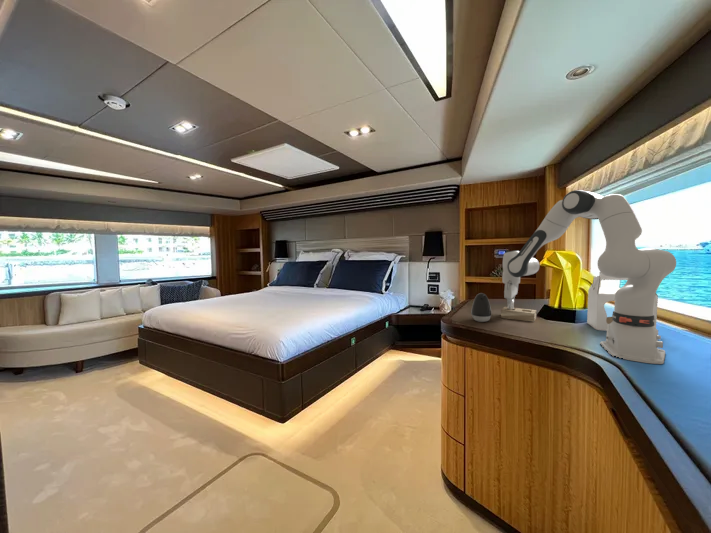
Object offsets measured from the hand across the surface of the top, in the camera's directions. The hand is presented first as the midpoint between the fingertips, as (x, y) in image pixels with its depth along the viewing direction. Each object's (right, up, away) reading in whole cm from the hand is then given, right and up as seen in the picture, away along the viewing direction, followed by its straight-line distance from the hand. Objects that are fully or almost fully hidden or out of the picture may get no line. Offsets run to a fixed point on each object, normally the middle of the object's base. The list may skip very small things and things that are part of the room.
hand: (510, 304), depth 169 cm
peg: (0, -7, +1) cm, 7 cm away
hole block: (+3, -7, -1) cm, 8 cm away
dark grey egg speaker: (-19, -8, -6) cm, 22 cm away
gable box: (+39, -9, -24) cm, 47 cm away
